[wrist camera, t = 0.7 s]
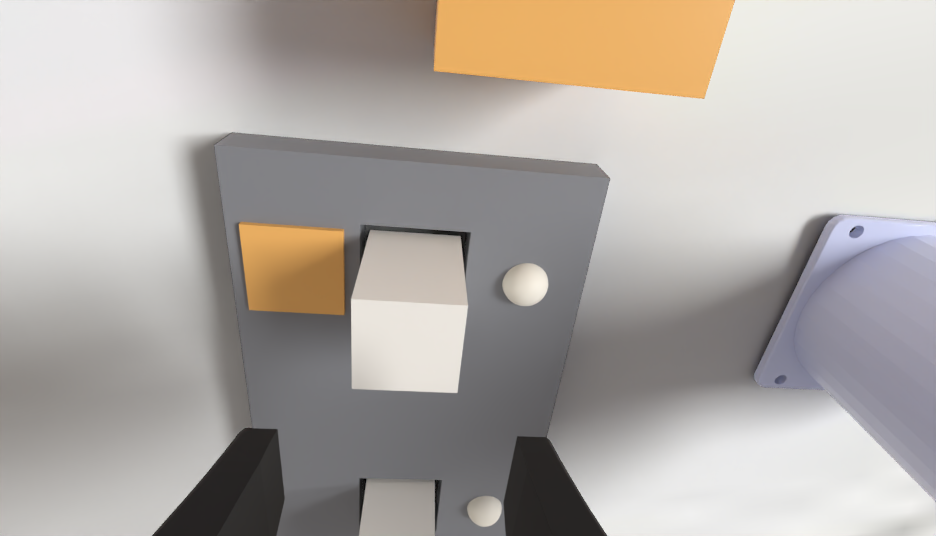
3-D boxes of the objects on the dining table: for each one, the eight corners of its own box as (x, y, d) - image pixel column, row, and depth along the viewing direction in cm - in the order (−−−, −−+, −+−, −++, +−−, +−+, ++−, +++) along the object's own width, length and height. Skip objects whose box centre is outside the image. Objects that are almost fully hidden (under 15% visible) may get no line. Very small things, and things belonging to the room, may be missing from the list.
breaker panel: (596, 164, 17) (618, 186, 15) (512, 531, 27) (518, 576, 25) (232, 132, 16) (202, 152, 14) (278, 529, 25) (265, 575, 23)
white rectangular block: (460, 236, 17) (468, 305, 13) (452, 310, 18) (457, 393, 14) (370, 229, 17) (351, 299, 13) (369, 306, 18) (351, 388, 14)
